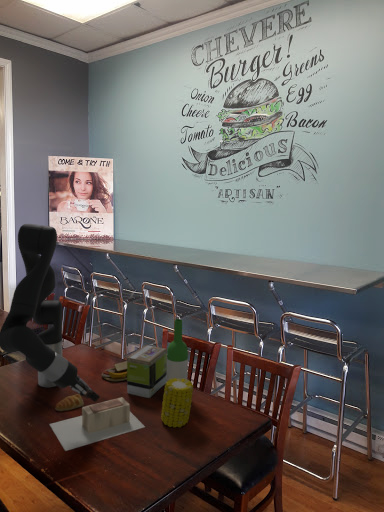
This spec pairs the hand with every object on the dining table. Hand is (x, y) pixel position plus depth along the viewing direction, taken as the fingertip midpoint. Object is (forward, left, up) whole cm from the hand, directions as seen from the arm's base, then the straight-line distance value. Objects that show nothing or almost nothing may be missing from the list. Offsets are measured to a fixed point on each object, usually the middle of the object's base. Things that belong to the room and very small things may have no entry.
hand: (96, 398), depth 139 cm
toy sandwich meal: (-34, +22, -10) cm, 42 cm away
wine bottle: (-5, +33, -10) cm, 35 cm away
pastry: (-17, -3, -10) cm, 20 cm away
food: (+10, +24, -10) cm, 28 cm away
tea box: (-17, +27, -10) cm, 34 cm away
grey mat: (0, 0, -10) cm, 10 cm away
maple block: (0, -4, -6) cm, 7 cm away
